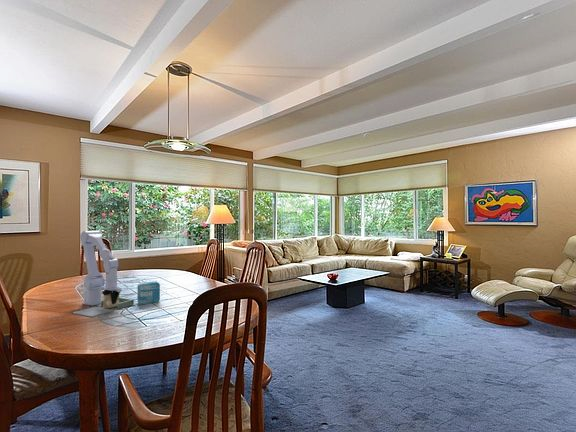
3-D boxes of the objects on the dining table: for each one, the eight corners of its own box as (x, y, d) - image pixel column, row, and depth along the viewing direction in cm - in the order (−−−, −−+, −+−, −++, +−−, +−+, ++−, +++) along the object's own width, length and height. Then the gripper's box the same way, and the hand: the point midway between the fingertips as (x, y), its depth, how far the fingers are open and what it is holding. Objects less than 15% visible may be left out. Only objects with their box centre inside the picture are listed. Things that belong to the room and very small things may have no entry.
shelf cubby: (100, 305, 184) (100, 300, 184) (116, 301, 193) (116, 296, 193) (118, 308, 178) (118, 303, 178) (133, 304, 187) (133, 299, 187)
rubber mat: (72, 313, 169) (72, 312, 169) (93, 307, 180) (93, 306, 180) (91, 317, 163) (91, 316, 163) (112, 311, 174) (112, 310, 174)
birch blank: (103, 307, 179) (103, 295, 179) (114, 304, 186) (114, 292, 186) (108, 308, 178) (108, 296, 178) (119, 305, 184) (119, 293, 184)
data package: (138, 304, 186) (138, 284, 186) (137, 303, 190) (137, 283, 190) (159, 301, 193) (159, 282, 193) (158, 300, 197) (158, 281, 197)
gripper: (96, 279, 181) (96, 303, 181) (113, 282, 175) (113, 306, 175) (107, 277, 187) (107, 300, 187) (124, 279, 182) (124, 303, 182)
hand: (111, 303), depth 182 cm, fingers closed on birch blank, 4 cm apart
